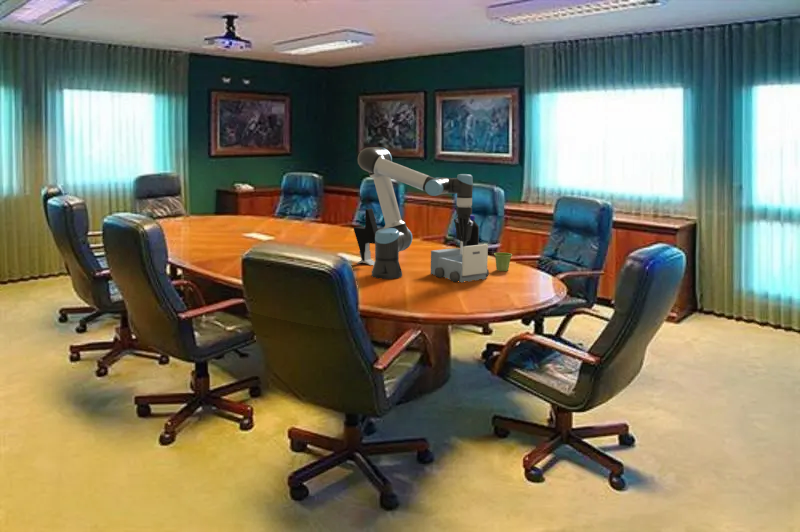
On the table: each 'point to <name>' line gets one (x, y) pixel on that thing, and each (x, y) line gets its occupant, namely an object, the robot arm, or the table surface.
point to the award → (366, 237)
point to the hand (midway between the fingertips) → (463, 254)
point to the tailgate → (474, 260)
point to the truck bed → (450, 265)
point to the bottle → (474, 233)
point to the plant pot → (502, 261)
